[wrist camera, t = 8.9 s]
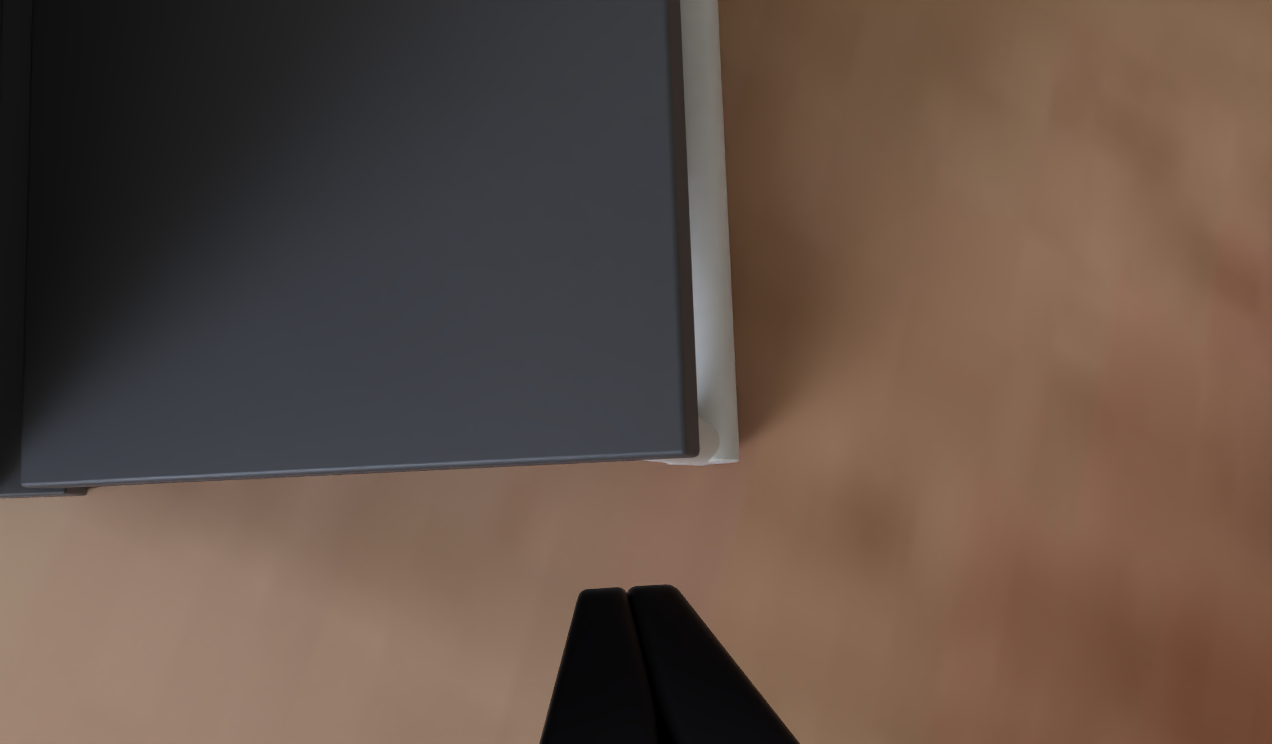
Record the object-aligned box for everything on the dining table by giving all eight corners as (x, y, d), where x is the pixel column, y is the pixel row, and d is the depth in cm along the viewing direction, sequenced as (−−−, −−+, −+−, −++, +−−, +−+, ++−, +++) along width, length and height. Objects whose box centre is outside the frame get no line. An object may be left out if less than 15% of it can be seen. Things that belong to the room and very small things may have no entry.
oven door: (273, -145, 27) (735, -245, 24) (274, 489, 25) (771, 467, 22) (39, -362, 20) (644, -540, 17) (17, 488, 18) (685, 455, 15)
